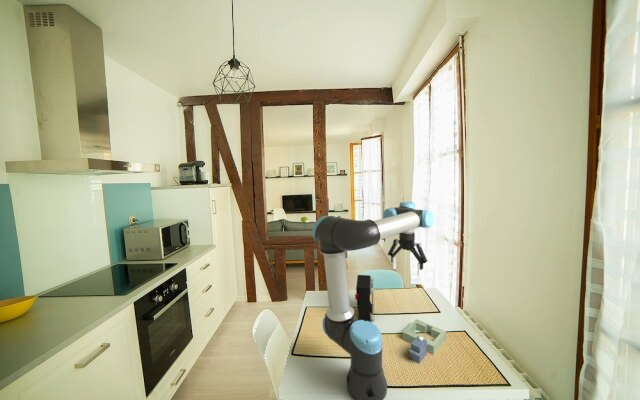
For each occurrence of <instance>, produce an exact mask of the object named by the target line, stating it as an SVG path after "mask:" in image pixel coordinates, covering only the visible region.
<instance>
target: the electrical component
mask: <svg viewBox="0 0 640 400" xmlns="http://www.w3.org/2000/svg"><path fill="white" fill-rule="evenodd" d="M356 279H357V280H356V287H355V288H356V289H355V290H356V291H355V294H354V299H355V301H356V305H357V306H356V308H357V310H358V320H364V321H369V322H371V323H372V321H375V316H373V315H374V308H375V307H374V305H375V304H374V292H375V289H374V282H375V281H374V278H372V276H371V275H370V274H369V275H366V274H357V277H356Z"/></svg>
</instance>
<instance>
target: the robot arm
mask: <svg viewBox="0 0 640 400" xmlns="http://www.w3.org/2000/svg"><path fill="white" fill-rule="evenodd" d="M434 221H435V217H434V212H432V211H430V210H426V209H417V208H416V203H415V202H413V201H402V202H400V203H399V206H396V207H389V208H386V209H384V211H383V214H382V218H380V219H376V220H373V219H365V220H364V219H363V220H357V219H351V218H346V217H345V218H343V217H339V216H334V215H322V216H321V217H319V218H318V219H316V221H315V222H314V223H313V226H312V230H311V231H312V237H313V239H314V241H315V242H317V243H318V248H319V253H321V254H322V255H323V260H324V261H323V262H324V269H325V277H326V278H325V279H326V288H327V289H326V290H327V296H328V297H327V298H328V308H327V309H326V313H324V318H323V319H322V329H323V332H324V334H325V335H326V336H327V337H328V338H329V339H330V340H331V341H333V343H335V344H336V345H338V346H339V347H340V348H341V349H343V350H344V351H345V352H346V353H347V354H349V356H350V367H349V370H348V371H347V375H346V390H347V392H348V393H349V396H351V398H352V399H353V400H384V399H385V398H386V396H387V393H388V384H387V383H388V382H387V379H386V377H385V374H384V372H383V371H384V370H383V338H382V332H381V330H380V328H379V327H378V326H377V325H376V324H375V323H373V322H372V321H371V322H369V321H364V320H359V319H358V320H356V318H355V310H354V308H353V307H352V306H351V305H350V303H351V302H350V293H349V292H350V291H349V283H348V271H347V260H346V253H347V252H348V251H349V252H350V251H357V250H362V249H366V248H370V247H372V246H376V245H377V244H379V242H380V241H381V240H384V239H387V238H391V237H393V236H396V235H399V236H398V237H399V239H398V238H394V239H393V242H392V245H391V247H390V249H389V250H388V252H387V255H388V256H390V257H391V258H390V262H391V263H392V270H396V269H397V256H396V255H397V254H399V252H400V251H401V250H405V251H410V253H412V255H413V256H414V257H415V258H416V260H417V262H418V263H417V277H420V276H422V270H424V264H426V263H428V259H427V256H426V255H425V252H424V250H423V248H422V243H421V242H415V240H416V239H415V237H416V236H415V235H416V234H415V231H416V230H415V229H416V228H417V229H418V228H425V229H429V228H431V227H432V226H433V224H434ZM397 245H399V246H398V247H397ZM396 247H397V248H396ZM415 247H416V248H415ZM394 250H395V251H394Z"/></svg>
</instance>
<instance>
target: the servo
mask: <svg viewBox="0 0 640 400" xmlns="http://www.w3.org/2000/svg"><path fill="white" fill-rule="evenodd" d="M423 337H424V336H422V337H419V336H418V337H417V338H416V339H415V340H414V341H413V342H412V343H410V349H409V351H408V352H409V353H410V359H411V360H413V361H415V362H416V363H418V364H421V362H423V360H424V359H425V358H426V356H427V354H428V351H427V346H428V343H427V340H425V339H423Z"/></svg>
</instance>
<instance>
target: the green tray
mask: <svg viewBox="0 0 640 400" xmlns="http://www.w3.org/2000/svg"><path fill="white" fill-rule="evenodd" d="M415 331H418V332H421V333H423V334H426V333H430V336H431V337H432V338H434V340H431V339H429V338H426V337H424V336H422V335H420V334H418V333H415ZM401 335H402V336H401V337H402V340H404V341H406V342H409V343H410V344H411V343H412V342H413V341H414V340H415V339H416V338H417V337H418V336H419V337H423V339H425V340H427V343H428V346H427V353H430V354H433V355H434V354H435V353H436V352H437V351H438V349H440V347H441V346H442V344H443V343H444V342H445V341H446V340H447V331H446V330H444V329H441V328H438V327H437V326H434V325H433V324H432V325H431V324H429V323H427V322H424V321H421V320H419V319H417V318H416V319H415V320H413V322H411V323H410V324H409V325H408V326H407V327H405V329H403V331H402V334H401Z"/></svg>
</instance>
